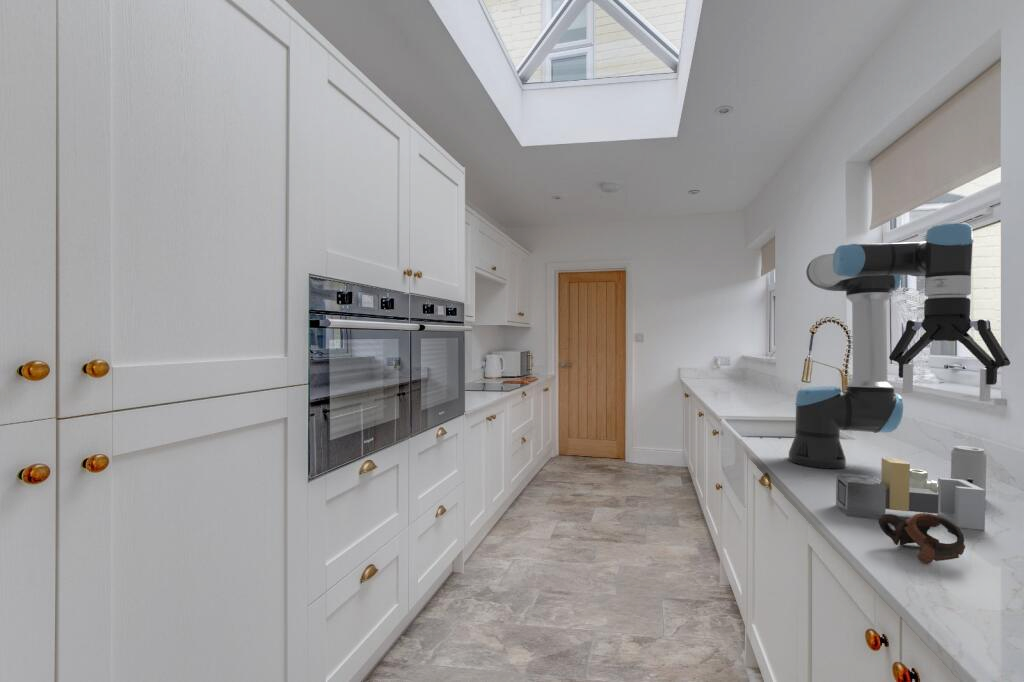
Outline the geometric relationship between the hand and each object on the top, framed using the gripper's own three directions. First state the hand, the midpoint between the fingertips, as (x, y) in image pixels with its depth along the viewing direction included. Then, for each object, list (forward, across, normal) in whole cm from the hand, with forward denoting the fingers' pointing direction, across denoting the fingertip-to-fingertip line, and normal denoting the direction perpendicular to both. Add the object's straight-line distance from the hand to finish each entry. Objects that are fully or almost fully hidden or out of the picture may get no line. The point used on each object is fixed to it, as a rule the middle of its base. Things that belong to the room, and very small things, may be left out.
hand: (944, 396), depth 110 cm
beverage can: (+26, -4, +23) cm, 35 cm away
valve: (+26, -5, +12) cm, 29 cm away
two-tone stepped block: (+24, -6, -10) cm, 27 cm away
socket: (+26, +4, -1) cm, 26 cm away
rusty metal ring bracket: (+26, +8, -27) cm, 38 cm away
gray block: (+26, -9, -14) cm, 30 cm away
